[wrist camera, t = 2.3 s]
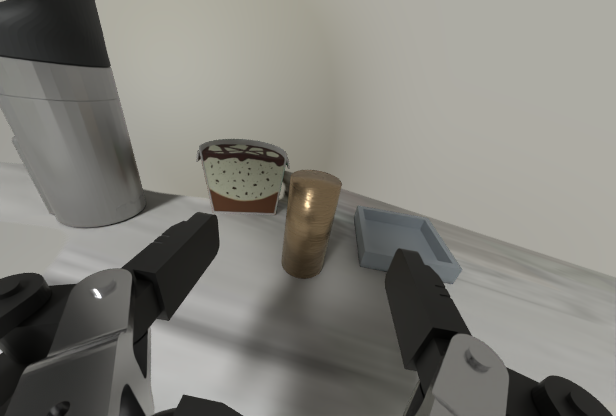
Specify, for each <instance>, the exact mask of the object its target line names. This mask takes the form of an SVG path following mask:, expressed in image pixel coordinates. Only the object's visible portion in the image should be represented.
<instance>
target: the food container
mask: <svg viewBox="0 0 616 416" xmlns="http://www.w3.org/2000/svg"><path fill="white" fill-rule="evenodd" d="M200 159H201V161H202V166H203V170H204V175H205V179H206V184H207V188H208V193H209V197H210V202H211V206H212V211H213V213H230V214H259V215H275V214H276V209H277V205H278V200H279V195H280V190H281V185H282V180H283V175H284V170H285V165H287V167H288V169H289V159H288V157H287V153H286V152H285V151H284V150H283V149H281V148H280V147H277V146H275V145H272V144H268V143H265V142H260V141H253V140H245V139H222V140H214V141H209V142H206V143H204V144H202V145H200V146H199V150H198V151H197V160H196V161H197V162H198V161H199V160H200Z"/></svg>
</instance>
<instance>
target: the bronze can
mask: <svg viewBox="0 0 616 416" xmlns="http://www.w3.org/2000/svg"><path fill="white" fill-rule="evenodd" d="M341 186H342V183H341V181H340V180H339V179H338V178H337V177H335V176H333V175H331V174H328V173H325V172H322V171H316V170H300V171H296V172H294V173H293V174H292V175H291V178H290V187H289V197H288V206H287V215H286V225H285V234H284V243H283V252H282V266H283V268H284V270H285V271H286V272H287V273H288V274H290V275H292V276H294V277H297V278H302V279H306V278H312V277H314V276H316V275H318V274H319V273H320V271H321V269H322V266H323V262H324V258H325V253H326V249H327V245H328V241H329V236H330V232H331V228H332V224H333V220H334V215H335V211H336V207H337V203H338V198H339V194H340V190H341Z"/></svg>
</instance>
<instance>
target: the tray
mask: <svg viewBox="0 0 616 416" xmlns="http://www.w3.org/2000/svg"><path fill="white" fill-rule="evenodd" d="M354 222H355V230H356V239H357V247H358V255H359V264H360V267H365V268H371V269H376V270H381V271H386V272H387V271H388V269H389V267H390V264H391V262H392V259H393V257H394V255H395V252H396V250H397V249H398V248H401V249H407V250H412V251H417V252H418V253H419V254H420V256H421V258H422V260H423V262H424V264H425V265H428V266H430V267H431V268H432V269H433V270H434V271H435V272H436V273H437V274H438V275H439V276H440V278H441V280H442V282H444V283H450V284H453V283H454V281H455V280H456V278H457V277H458V275H459V274H460V272H461V271H462V268H461V267H460V265H459V264H458V262H457V261H456V259H455V258H454V256H453V255H452V253H451V252H450V250H449V249H448V247H447V246H446V244H445V243H444V241H443V240H442V238H441V237H440V235H439V234H438V232H437V231H436V229H435V228H434V226H433V225H432V223H431V222H430V220H429V219H428V218H425V217H419V216H414V215H408V214H403V213H397V212H392V211H386V210H380V209H375V208H369V207H364V206H357V210H356V213H355V216H354Z"/></svg>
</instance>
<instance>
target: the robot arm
mask: <svg viewBox="0 0 616 416" xmlns="http://www.w3.org/2000/svg"><path fill="white" fill-rule="evenodd" d="M110 66H111V65H110V61H109V58H108V54H107V50H106V46H105V41H104V37H103V32H102V28H101V25H100V20H99V16H98V12H97V8H96V4H95V0H6V1H3V2H0V108H1V110H2V112H3V114H4V116H5V118H6V119H7V122H8V124H9V125H10V127H11V129H12V131H13V133H14V135H15V136H14V137H13V138H12V142H13V144H14V146H15V148H16V150H17V152H18V154H19V156H20V158H21V159H22V161H23V163H24V165H25V167H26V169H27V171H28V173H29V175H30V177H31V179H32V181H33V182H34V184H35V186H36V188H37V190H38V192H39V194H40V196H41V198H42V200H43V202H44V203H45V205H46V207H47V209H48V211H49V213H50V214H55V216H56V218H57V220H58V221H59V222H60V223H62V224H64V225H66V226H71V227H82V228H85V227H98V226H105V225H109V224H114V223H117V222H120V221H123V220H126V219H128V218H131V217H133V216H134V215H136V214H138V213H139V212H140V211H142V210H143V208H144V207H145V205H146V200H145V196H144V192H143V189H142V185H141V181H140V176H139V172H138V169H137V165H136V161H135V157H134V153H133V149H132V146H131V142H130V138H129V134H128V130H127V126H126V122H125V118H124V115H123V111H122V107H121V103H120V99H119V96H118V92H117V88H116V84H115V81H114V76H113V73H112V69H111V67H110ZM218 249H219V230H218V219H217V216H216V215H212V214H207V213H201V212H197V213H195V214H194V215H193V216H192V217H191V218H190V219H189V220H187V221H182V222H180V223H178V224H176V225H174V226H171V227H170V228H169V229H168V230H166V231H165V232H164V233H163V234H162V236H159V237H158V238H157V239H156V240H154V243H151V244H150V245H148V246H147V247H146V248H145V249H144V250H142V251H141V252H140V253H139V254H138V255H136V256H135V257H134V258H133V259H132V260H130V261H129V262H128V263H127V264H126V265H124V266H123V267H122V268H121V269H119V268H115V269H107V270H103V271H100V272H97V273H94V274H92V275H90V276H88V277H86V278H85V279H83V280H82V281H80V282H79V283H78V284H68V285H54V286H48V284H47V283H46V281H45V280H44V278H43V277H42V276H41V275H39V274H36V273H23V274H17V275H12V276H8V277H5V278H2V279H0V349H1V350H2V351H3V353H2V354H0V416H243V415H241V414H240V413H238V412H236V411H235V410H233V409H232V408H230V407H228V406H227V405H225V404H224V403H221V402H216V401H211V400H207V399H202V398H197V397H192V396H188V395H183V396H182V398H181V400H180V402H179V404H178V406H177V408H172V409H169V410H165V411H161V412H159V413H156V414H155V413H154V402H153V395H152V390H151V328H150V326H151V325H152V323H153V322H154V321H155V320H156V318H157V319H162V320H167V321H169V320H170V318H171V317H172V316H173V314H174V313H175V312H176V310H177V309H178V307H179V306H180V305H181V303H182V302H183V301H184V299H185V298H186V296H187V295H188V294H189V292H190V291H191V290H192V288H193V287H194V285H195V284H196V283H197V281H198V280H199V278H200V277H201V276H202V274H203V273H204V272H205V270H206V269H207V267H208V266H209V265H210V263H211V262H212V261H213V259H214V258H215V256H216V255H217V252H218ZM385 289H386V293H387V297H388V301H389V305H390V309H391V314H392V318H393V322H394V326H395V330H396V334H397V339H398V343H399V347H400V351H401V355H402V359H403V364H404V368H405V369H408V370H413V371H417V372H418V376H419V379H420V380H419V381H418V383H417V385H416V387H415V389H414V391H413V394H412V396H411V398H410V400H409V403H408V405H407V407H406V409H405V412H404V414H403V416H612V414H611V413H610V412H609V411H608V410H607V409H606V408H605V407H604V406H603V405H602V404H601V403H600V402H599V401H598V400H597V399H596V398H595V397H594V396H592V395H591V394H590V393H589V392H587V391H586V390H585V389H583V388H582V387H580V386H579V385H577V384H575V383H573V382H572V381H570V380H568V379H565V378H563V377H559V376H548V377H547V378H545V379H544V380H543V381H541V382H540V383H538V382H536V381H534V380H532V379H530V378H528V377H526V376H524V375H522V374H519V373H517V372H515V371H513V370H511V369H509V368H507V367H506V366H505V365H504V363H503V361H502V360H501V359H500V357H499V356H498V355H497V354H496V353H495V352H494V351H493V350H492V349H491V348H490V347H489V346H488V345H487V344H485V343H484V342H482V341H481V340H479V339H477V338H475V337H473V336H472V335H471V333H470V331H469V330H468V328H467V326H466V324H465V322H464V320H463V319H462V317H461V315H460V313H459V311H458V309H457V308H456V306H455V304H454V302H453V300H452V299H451V298H450V295H449V293H448V291H447V289H445V285H444V284H443V282H442V280H441V278H440V276H439V275H438V274H437V273H436V272H435V271H434V270H433V269H432V268H431V267H430V266H428V265H425V264H424V262H423V260H422V258H421V256H420V254H419V253H418V252H417V251H412V250H407V249H401V248H398V249H397V250H396V252H395V255H394V257H393V259H392V262H391V264H390V267H389V269H388V271H387V274H386V278H385Z"/></svg>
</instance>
